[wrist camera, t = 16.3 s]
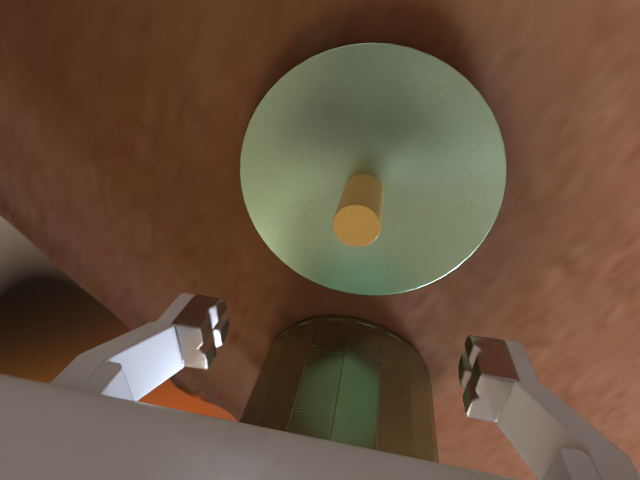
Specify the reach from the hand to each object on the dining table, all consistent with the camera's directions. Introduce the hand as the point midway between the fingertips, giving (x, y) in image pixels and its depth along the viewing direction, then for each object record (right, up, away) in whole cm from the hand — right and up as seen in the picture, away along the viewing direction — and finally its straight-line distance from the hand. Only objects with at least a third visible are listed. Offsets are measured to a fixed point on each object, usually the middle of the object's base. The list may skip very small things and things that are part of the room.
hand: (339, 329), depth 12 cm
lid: (+2, +6, +10) cm, 12 cm away
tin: (+2, -9, +20) cm, 22 cm away
